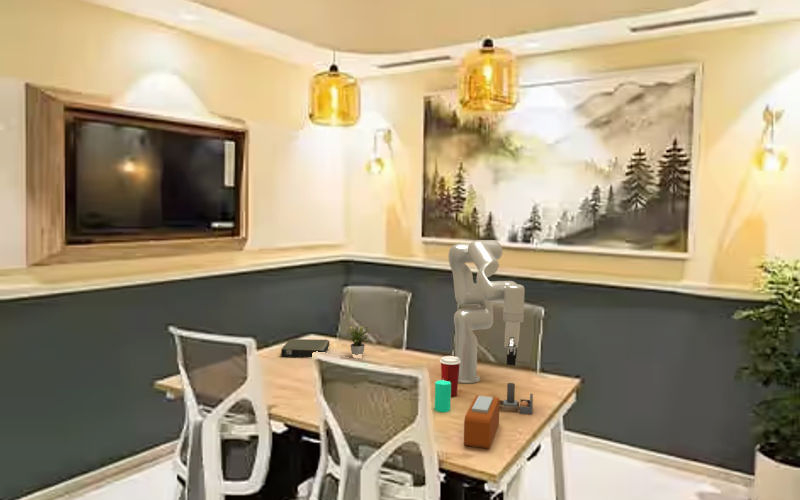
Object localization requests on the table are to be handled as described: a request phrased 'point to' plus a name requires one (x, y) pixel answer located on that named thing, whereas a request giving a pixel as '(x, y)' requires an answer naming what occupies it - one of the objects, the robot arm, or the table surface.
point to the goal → (527, 409)
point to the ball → (524, 404)
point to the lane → (508, 409)
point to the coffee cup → (450, 372)
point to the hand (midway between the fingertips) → (511, 361)
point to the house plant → (357, 340)
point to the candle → (442, 396)
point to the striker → (510, 396)
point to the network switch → (303, 347)
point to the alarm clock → (481, 421)
